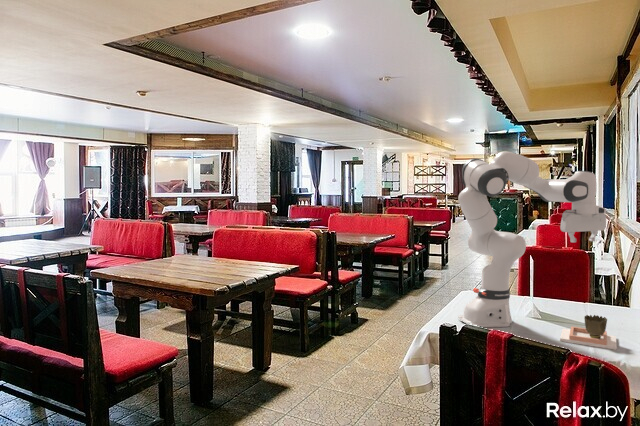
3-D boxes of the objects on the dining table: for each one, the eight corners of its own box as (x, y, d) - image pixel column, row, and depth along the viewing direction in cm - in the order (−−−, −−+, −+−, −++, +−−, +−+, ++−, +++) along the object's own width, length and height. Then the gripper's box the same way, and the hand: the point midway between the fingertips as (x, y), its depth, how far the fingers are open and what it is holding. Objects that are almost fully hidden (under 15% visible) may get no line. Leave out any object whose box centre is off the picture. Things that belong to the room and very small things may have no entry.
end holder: (616, 349, 164) (616, 343, 164) (560, 341, 174) (560, 334, 173) (615, 338, 175) (615, 332, 175) (562, 330, 185) (562, 324, 184)
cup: (585, 333, 178) (585, 313, 178) (607, 337, 174) (608, 316, 173) (582, 339, 173) (582, 318, 172) (605, 343, 168) (606, 321, 167)
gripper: (568, 210, 189) (567, 244, 190) (609, 209, 193) (608, 241, 194) (557, 209, 195) (556, 241, 196) (597, 208, 199) (596, 239, 200)
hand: (582, 241), depth 195 cm, fingers open, 8 cm apart
